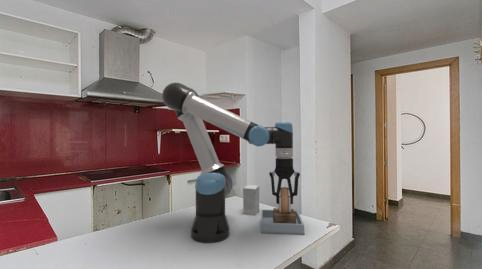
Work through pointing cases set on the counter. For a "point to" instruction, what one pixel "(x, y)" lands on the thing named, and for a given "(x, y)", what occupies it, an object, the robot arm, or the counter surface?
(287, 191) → the peg
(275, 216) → the block
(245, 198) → the small box
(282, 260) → the counter surface
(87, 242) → the counter surface
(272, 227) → the tray
